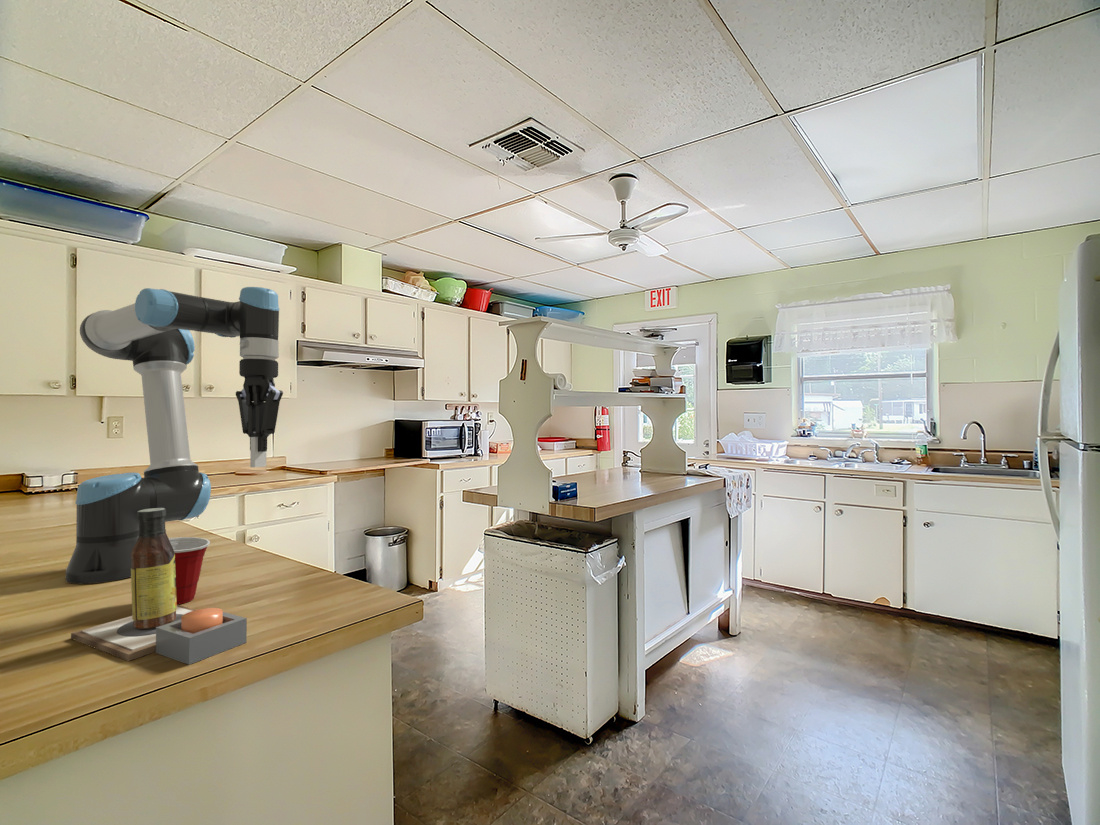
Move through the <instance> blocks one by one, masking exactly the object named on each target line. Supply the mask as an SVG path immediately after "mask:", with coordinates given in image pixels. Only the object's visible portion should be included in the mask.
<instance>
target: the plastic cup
mask: <svg viewBox="0 0 1100 825" xmlns="http://www.w3.org/2000/svg"><path fill="white" fill-rule="evenodd" d="M168 539H169V541H170V543H171V545H172V547H173V550H174V552H175V569H176V600H177V605H182V604H186V603H189V602H191V601H193V600H195V596H196V595H197V594H196V592H197V587H198V582H199V580H200V576H201V570H202V565H203V561H204V557H205V553H206V552H207V548H208V547H209V545H210V544H211V541H210V540H209V539H207V538H204V537H203V538H202V537H195V536H194V537H193V536H187V537H186V536H182V537H181V536H179V537H178V536H177V537H168Z"/></svg>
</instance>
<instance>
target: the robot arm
mask: <svg viewBox="0 0 1100 825" xmlns="http://www.w3.org/2000/svg"><path fill="white" fill-rule="evenodd" d="M238 300H239V301H235V302H233V301H231V302H230V301H226V300H222V299H215V298H210V297H209V298H208V297H203V296H198V295H197V296H196V295H191V294H188V293H187V294H186V293H181V292H175V291H171V290H167V289H163V288H162V289H161V288H160V289H158V288H156V289H155V288H146V287H144V288H143V289H141V290H140V292H139V294H138V295H137V296H136V297H135V303H132V304H129V305H126V306H123V307H121V308H117V309H115V310H111V309H103V310H102V309H101V310H98V311H95V312H92V313H90V314H89V315H87V316H86V317H85V318H84V319H83V320H81V323H80V325H79V326H80V327H79V335H80V338H81V340H82V341H83V343H84V345H86V347H87V348H88V349H90V350H92V352H94V353H96V354H98V355H100V356H103V357H106V358H108V359H113V360H119V361H120V360H122V361H130V362H132V365H133V371H134V372H136V373H137V374H139V375H141V383H142V386H141V387H142V394H143V405H144V413H145V422H146V432H147V433H146V435H147V444H148V453H149V463H150V464H149V466H148V467H147V468H146V469H145V470H144V471H143V477H142V476H141V474H140V473H139V472H124V473H114V474H107V475H103V476H98V477H92V478H89V479H86V480H84V481H82V482H81V483H80V484H79V485H78V487H77V491H76V500H75V505H76V520H75V522H76V523H75V524H76V526H75V527H76V530H75V531H76V533H75V534H76V536H75V537H76V540H75V541H76V542H75V548H74V550H73V552H72V555H71V558H70V559H69V562H68V565H67V567H66V570H65V582H67V583H70V584H82V585H83V584H96V583H97V584H98V583H107V582H112V581H119V580H123V579H124V580H125V579H128V578H131V567H132V565H131V552H132V549H133V547H134V546H135V544H136V543H137V540H138V538H139V535H138V533H139V521H138V519H137V511H140V510H144V509H151V508H165V509H166V517H165V523H168V522H173V521H174V522H175V521H183V520H187V519H194V518H197V517H199V516H200V515H202V514H203V513H204V512H205V510H206V509H207V506H208V505H209V502H210V498H211V493H212V492H211V490H212V485H211V480H210V478H209V476H208V475H207V474H206V473H203V472H200V470H199V465H198V464H197V463H196V462H194V461H192V460H191V454H190V443H189V434H188V425H187V424H188V423H187V418H186V417H187V416H186V408H185V407H186V406H185V399H184V391H183V389H184V388H183V383H182V382H183V381H182V380H183V379H182V373H184V371H186V370H187V368H188V366H187V365H188V364H190V363H191V362H192V361H193V359H194V356H195V353H194V352H195V347H196V346H195V341H194V340H195V339H194V337H193V334H192V333H191V331H193V332H201V333H207V334H215V335H217V336H218V337H222V338H236V337H239V357H241V359H240V360H239V365H238V368H239V370H238V371H239V376H240V377H243V378H244V382H243V385H242V387H243V388H242V389H241V390H240V391H238V390H236V392H235V396H236V398H237V401H238V409H239V415H240V416H239V417H240V422H241V429H242V433H243V434H246V435H247V436H248V437H249V451H250V461H249V462H250V465H249V466H250V468H263V467H267V452H268V437H269V436H270V435H274V434H275V433H276V432H275V431H276V427H277V420H278V414H279V410H280V409H279V408H280V402H281V399H282V397H283V395H284V392H283V390H280V389H277V388H276V383H275V379H276V378H277V377H279V362H278V361H277V359H278V358H279V354H280V353H279V351H280V349H279V346H280V345H279V344H280V342H279V327H280V325H279V324H280V320H279V319H280V307H279V294H278V293H277V292H276V291H275V290H273V289H270V288H266V287H262V286H261V287H259V286H246V287H243V288H241V290H240V292H239V297H238Z"/></svg>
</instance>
